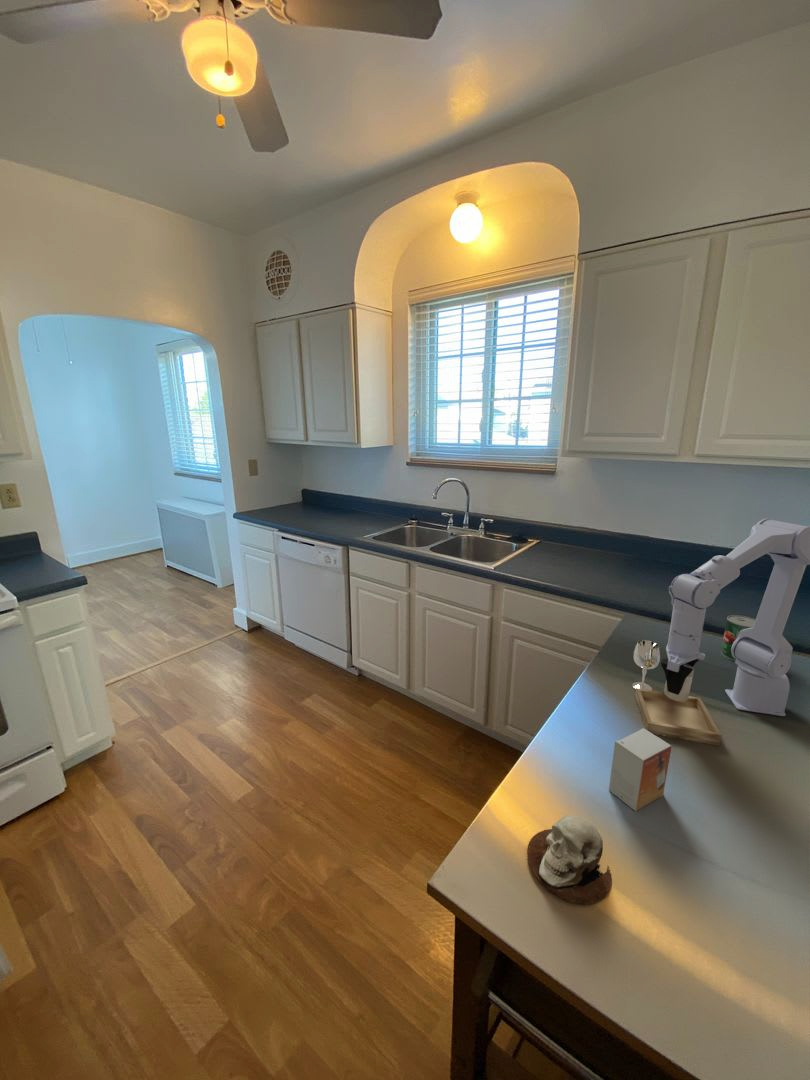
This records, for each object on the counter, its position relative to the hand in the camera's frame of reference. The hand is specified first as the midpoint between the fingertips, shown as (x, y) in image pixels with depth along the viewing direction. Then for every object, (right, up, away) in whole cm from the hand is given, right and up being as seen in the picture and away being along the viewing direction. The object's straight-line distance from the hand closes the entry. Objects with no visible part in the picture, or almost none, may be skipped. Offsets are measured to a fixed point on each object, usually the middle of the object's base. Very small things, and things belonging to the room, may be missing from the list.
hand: (676, 687), depth 97 cm
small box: (-18, -14, -17) cm, 28 cm away
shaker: (0, -2, 0) cm, 2 cm away
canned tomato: (+36, -1, +30) cm, 47 cm away
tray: (+1, -8, +3) cm, 9 cm away
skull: (-35, -17, -30) cm, 49 cm away
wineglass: (+1, -5, +15) cm, 16 cm away
